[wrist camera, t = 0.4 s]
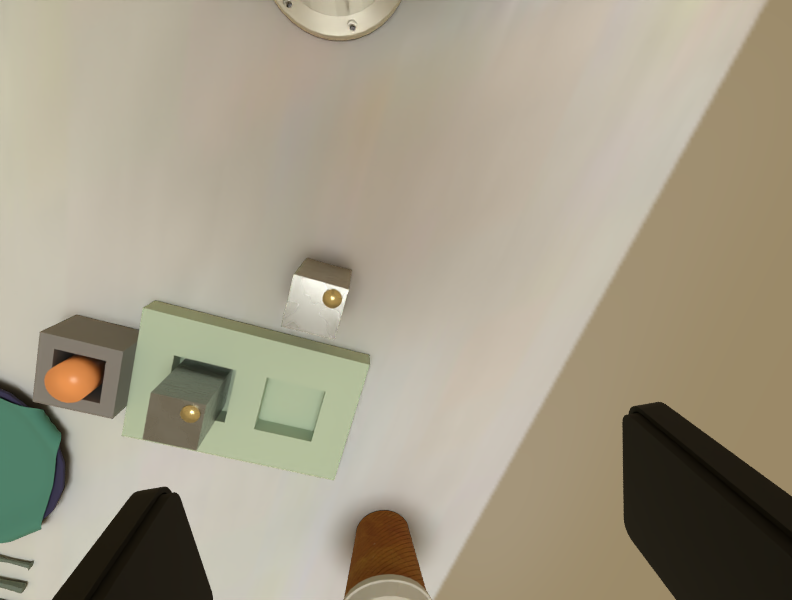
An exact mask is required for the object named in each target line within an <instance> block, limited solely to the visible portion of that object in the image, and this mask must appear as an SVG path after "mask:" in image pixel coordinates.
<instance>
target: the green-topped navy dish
mask: <svg viewBox="0 0 792 600" xmlns="http://www.w3.org/2000/svg"><path fill="white" fill-rule="evenodd" d="M60 441H61V433H60V432H59V431H58V430H57V428H56V426H55V425H54V424H53V423H51V422H50V419H49V417H48V416H47V415H46V414H45V412H44V410H41V409H37V408H30V407H29V406H27V405H26V404H25V403H23V402H22V401H21V400H19V399H18V398H17V397H15V396H14V395H13V394H11V393H10V392H7V391H5V390H3V389H0V543H6V542H11V541H14V540H16V539H19V538H21V537H23V536H26V535H28V534H30V533H33V532H35V531H38V530H40V529H41V524H42V520H43V519H45V518H46V517H47V516H48V515H49V514H50V513H51V512H52V511H53V510H54V509H55V507H56V505H57V503H58V500H59V498H60V496H61V494H62V492H63V490H64V487H65V461H64V458H63V455H62V453H61V450H60V447H59V444H60ZM0 562H7V563H11V564H15V565H18V566H22V567H26V568H28V570H29V569H30V568H31V567H32V566H33V563H34V561H32V562H31V563H28V562H23V561H17V560H11V559H7V558H4V557H0ZM26 584H27V583H23V582H16V581H10V580H5V579H0V587H1V588H4V589H8V590H11V591H15V592H18V593H22V592H23V591H24V590H25V588H26ZM0 600H3V599H0Z"/></svg>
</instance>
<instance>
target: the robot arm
mask: <svg viewBox="0 0 792 600" xmlns="http://www.w3.org/2000/svg"><path fill="white" fill-rule="evenodd" d="M274 1H275V3H276V4H277V5H278V7H279V8H280V10H281V11H282V12H283V13H284V14H285V15H286V16H287V17H288V18H289V19H290V20H291V22H293V23H294V24H296V25H297V26H298V27H300V28H301V29H302V30H304V31H306V32H308V33H310V34H312V35H314V36H317V37H320V38H324V39H328V40H343V41H345V40H350V39H356V38H360V37H362V36H364V35H367V34H369V33H371V32H373V31H374V30H376V29H377V28H379V27H380V26H381V25H383V24H384V23H385V22H386V21H387V20H388V19H389V17H390V16H391V15H392V14H393V13H394V11H395V10H396V8H397V7H398V5H399V4H400V2H401V0H274ZM288 3H291V4H292V7H290V8H288V7H287V4H288ZM350 26H355V28H356V29H355V30H354V31H351V30H350ZM623 488H624V489H623V494H624V523H625V527H626V530H627V533H628V535H629V536H630V538H631V540H632V541H633V543H634V544H635V545H636V546H637V548H638V549H639V551H640V552H641V553H642V554H643V556H644V557H645V559H646V560H647V561H648V563H649V564H650V565H651V567H652V568H653V569H654V571H655V572H656V573H657V574H658V576H659V577H660V578H661V580H662V581H663V583H664V584H665V585H666V587H667V588H668V589H669V591H670V592H671V593H672V595H673V596H674V597H675V599H676V600H792V496H790V495H789V494H788V493H786V492H785V491H784V490H782V489H781V488H779V487H778V486H777V485H775V484H774V483H772V482H771V481H770V480H768V479H767V478H766V477H764V476H763V475H761V474H760V473H759V472H757V471H756V470H755V469H753V468H752V467H750V466H749V465H748V464H747V463H745V462H744V461H742V460H741V459H740V458H738V457H737V456H736V455H734V454H733V453H732V452H730V451H729V450H727V449H726V448H725V447H723V446H722V445H721V444H719V443H718V442H716V441H715V440H714V439H712V438H711V437H710V436H708V435H707V434H706V433H704V432H703V431H701V430H700V429H699V428H697V427H696V426H694V425H693V424H692V423H690V422H689V421H688V420H686V419H685V418H684V417H682V416H681V415H680V414H678V413H677V412H675V411H674V410H673V409H671V408H670V407H669V406H667V405H666V404H664V403H662V402H655V403H650V404H644V405H638V406H633V407H631V408H630V411H629V414H628V415H625V416H624V417H623ZM52 600H213V595H212V591H211V588H210V585H209V582H208V579H207V576H206V573H205V570H204V567H203V564H202V561H201V558H200V555H199V552H198V549H197V546H196V543H195V540H194V537H193V534H192V531H191V528H190V525H189V522H188V519H187V516H186V513H185V510H184V507H183V504H182V501H181V498H180V496H179V495H178V494H177V493H175V492H174V493H172V492H171V490H170V489H169V488H168V487H159V488H153V489H148V490H142V491H137V492H135V493H133V494H132V495H131V496H130V498H129V499H128V500H127V502H126V503H125V504H124V506H123V507H122V508H121V510H120V511H119V512H118V514H117V515H116V516H115V517H114V519H113V520H112V521H111V523H110V524H109V525H108V527H107V528H106V529H105V531H104V532H103V533H102V535H101V536H100V537H99V539H98V540H97V541H96V542H95V544H94V545H93V546H92V548H91V549H90V550H89V552H88V553H87V554H86V556H85V557H84V558H83V560H82V561H81V562H80V563H79V565H78V566H77V567H76V569H75V570H74V571H73V573H72V574H71V575H70V577H69V578H68V579H67V581H66V582H65V583H64V584H63V586H62V587H61V588H60V590H59V591H58V592H57V594H56V595H55V596H54V598H53V599H52Z"/></svg>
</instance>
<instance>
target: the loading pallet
mask: <svg viewBox="0 0 792 600" xmlns="http://www.w3.org/2000/svg"><path fill="white" fill-rule="evenodd" d="M75 354H78V355H83V356H87V357H91V358H96V359H100V360H103V361H104V362H105V364H106V365H105V372H104V379H103V383H102V384H101V385H100V386H98V387H97V388H96V389H95V390H93V391H92V392H91V393H89V394H88V395H87V396H85V397H84V398H83V399H81V400H80V401H78V402H74V403H66V402H61V401H59V400H57V399H55V398H54V397H52V396H51V395H50V394H49V392H48V391H47V389H46V387H45V383H44V379H45V375H46V373H47V372H48V371H49V370H50V369H51V368H53V367H54V366H56V365H58V364H59V363H61V362H63V361H65V360H66V359H68V358H70V357H71V356H73V355H75ZM185 358H187V359H192V360H196V361H200V362H204V363H208V364H212V365H217V366H221V367H225V368H229V369H233V373H232V377H231V381H230V386H229V390H228V395H227V399H226V403H225V406H224V408H223V409H222V411H221V413H220V414H219V416H218V417H217V419H216V421H215V422H214V424H213V425H212V427H211V428H210V430H209V432H208V433H207V435H206V436H205V438H204V440H203V441H202V443H201V444H200V446H199V448H198V449H197V452H202V453H207V454H211V455H216V456H221V457H225V458H230V459H235V460H240V461H244V462H249V463H254V464H259V465H263V466H268V467H273V468H278V469H282V470H287V471H292V472H297V473H301V474H306V475H311V476H315V477H320V478H325V479H330V480H334V479H335V475H336V472H337V469H338V466H339V463H340V459H341V456H342V453H343V450H344V446H345V443H346V440H347V437H348V433H349V430H350V427H351V424H352V420H353V417H354V414H355V411H356V408H357V404H358V401H359V398H360V395H361V391H362V388H363V385H364V382H365V378H366V375H367V372H368V369H369V365H370V355H367V354H363V353H359V352H355V351H351V350H347V349H343V348H339V347H335V346H332V345H328V344H324V343H320V342H316V341H312V340H308V339H304V338H300V337H296V336H292V335H288V334H284V333H281V332H277V331H273V330H269V329H265V328H261V327H257V326H253V325H249V324H245V323H241V322H237V321H234V320H230V319H226V318H222V317H218V316H214V315H210V314H206V313H202V312H198V311H194V310H190V309H187V308H183V307H179V306H175V305H171V304H167V303H163V302H159V301H154V302H152V303H150V304H149V305H147V306H145V307H143V311H142V317H141V323H140V329H139V330H137V329H133V328H129V327H124V326H120V325H116V324H112V323H108V322H104V321H100V320H96V319H92V318H88V317H84V316H80V315H75V316H73V317H71V318H69V319H67V320H64V321H62V322H60V323H58V324H56V325H54V326H51V327H49V328H47V329H45V330H43V331H41V332H40V336H39V345H38V355H37V364H36V373H35V383H34V392H33V402H37V403H42V404H46V405H51V406H55V407H60V408H65V409H69V410H74V411H79V412H83V413H88V414H93V415H97V416H102V417H106V418H111V419H113V418H114V417H115V416H116V415H117V414H118V413H119V412H120V411H121V410H123V409H124V408H125V407H126V406H127V407H126V414H125V420H124V426H123V432H122V436H126V437H131V438H135V439H140V440H144V439H143V433H144V427H145V422H146V416H147V411H148V405H149V399H150V394H151V392H152V391H153V390H154V389H155V388H156V387H157V386H158V385H159V384H160V383H161V382H162V381H163V380H164V379H165V378H166V377H167V376H168V375H169V374H170V373H171V372H172V371H173V370H174V369H175V368H176V367H177V366H178V365H179V364H180V363H181V362H182V361H183V360H184V359H185ZM145 441H149V440H145ZM150 442H153V441H150ZM154 443H158V442H154ZM159 444H163V443H159ZM164 445H168V444H164ZM169 446H172V445H169ZM173 447H177V446H173ZM178 448H182V447H178ZM183 449H186V448H183ZM188 450H191V449H188ZM192 451H196V450H192Z"/></svg>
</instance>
